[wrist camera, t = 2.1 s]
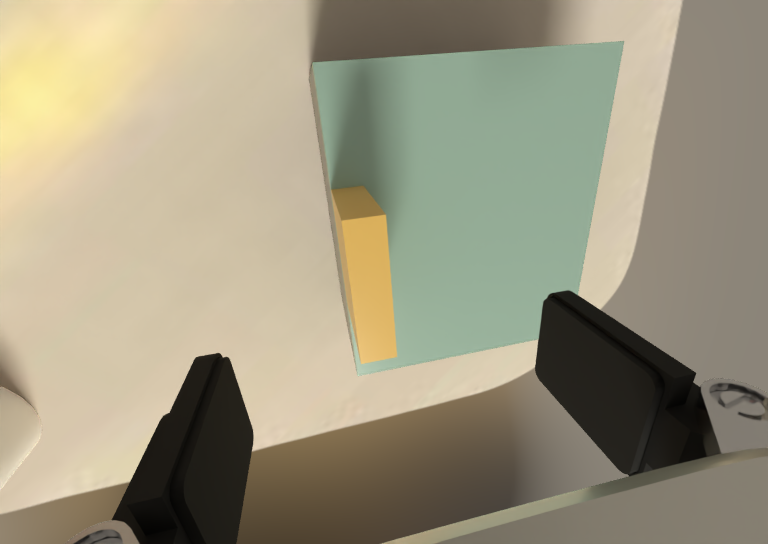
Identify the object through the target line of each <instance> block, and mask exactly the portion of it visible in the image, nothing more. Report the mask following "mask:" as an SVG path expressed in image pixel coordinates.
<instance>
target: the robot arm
mask: <svg viewBox="0 0 768 544" xmlns="http://www.w3.org/2000/svg"><path fill="white" fill-rule="evenodd" d="M535 371H536V375H537V377H538V379H539V380H540V381H541V382H542V383H543V385H544V386H545V387H546V388H547V389H548V390H549V391H550V393H551V394H552V395H553V396H554V397H555V398H556V399H557V401H558V402H559V403H560V404H561V405H562V406H563V407H564V408H565V410H567V412H568V413H569V414H570V415H571V416H572V418H573V419H574V420H575V421H576V422H577V423H578V424H579V425H580V426H581V428H582V429H583V430H584V431H585V432H586V433H587V434H588V436H589V437H590V438H591V439H592V440H593V441H594V442H595V444H596V445H597V446H598V447H599V448H600V449H601V450H602V451H603V452H604V454H605V455H606V456H607V457H608V458H609V459H610V461H611V462H612V463H613V464H614V465H615V466H616V467H617V468H618V469H619V470H620V471H621V472H622V473H624V474H628V475H629V477H626V478H622V479H618V480H614V481H610V482H607V483H603V484H599V485H595V486H591V487H588V488H584V489H580V490H576V491H573V492H569V493H565V494H561V495H557V496H554V497H550V498H546V499H543V500H539V501H535V502H532V503H528V504H524V505H521V506H517V507H513V508H509V509H506V510H502V511H498V512H495V513H491V514H487V515H484V516H480V517H476V518H473V519H469V520H465V521H462V522H458V523H454V524H451V525H447V526H443V527H440V528H436V529H432V530H429V531H425V532H422V533H418V534H415V535H411V536H407V537H404V538H400V539H396V540H393V541H389V542H386V543H382V544H768V393H767V392H765V391H763V390H761V389H759V388H756V387H754V386H752V385H749V384H747V383H743V382H739V381H735V380H730V379H723V378H720V379H719V378H718V379H709V380H707V381H704V382H703V384H702V385H701V387H699V386H697V385H696V384H695V383H693V381H694V378H695V375H696V373H695V372H694V371H692V370H691V369H689V368H688V367H686V366H685V365H683V364H682V363H680V362H679V361H677V360H676V359H674V358H673V357H671V356H669V355H668V354H666V353H665V352H663V351H662V350H660V349H659V348H657V347H656V346H654V345H653V344H651V343H650V342H648V341H646V340H645V339H643V338H642V337H641V336H639V335H638V334H636V333H634V332H633V331H631V330H630V329H628V328H627V327H625V326H624V325H622V324H621V323H619V322H618V321H616V320H615V319H613V318H612V317H610V316H609V315H607V314H606V313H604V312H603V311H601V310H599V309H598V308H596V307H595V306H593V305H592V304H590V303H589V302H587V301H586V300H584V299H583V298H581V297H580V296H578V295H577V294H575V293H574V292H572V291H570V290H566V291H560V292H555V293H551V294H549V295H548V297H547V299H545V300H544V301H543V306H542V315H541V323H540V332H539V340H538V348H537V357H536V365H535ZM252 447H253V429H252V425H251V422H250V419H249V416H248V413H247V410H246V407H245V404H244V401H243V398H242V395H241V392H240V389H239V386H238V383H237V380H236V377H235V374H234V370H233V367H232V364H231V361H230V359H229V358H228V357H224V358H223V357H222V355H221V354H220V353H216V354H210V355H205V356H199V357H196V358H195V360H194V361H193V364H192V366H191V368H190V370H189V372H188V374H187V376H186V379H185V381H184V383H183V385H182V387H181V389H180V391H179V394H178V396H177V398H176V400H175V402H174V404H173V406H172V409H171V411H170V413H168V414H166V415H164V416H163V417H162V419H161V420H160V422H159V424H158V426H157V428H156V430H155V432H154V434H153V436H152V438H151V440H150V442H149V444H148V447H147V449H146V451H145V453H144V455H143V457H142V459H141V461H140V463H139V465H138V467H137V469H136V471H135V473H134V475H133V477H132V479H131V481H130V484H129V486H128V488H127V490H126V492H125V494H124V496H123V498H122V500H121V502H120V504H119V506H118V508H117V510H116V513H115V514H114V516H113V519H112V521H106V522H101V523H99V524H96V525H94V526H92V527H89V528H87V529H85V530H83V531H82V532H80V533H79V534H77V535H76V536H74V537H72V538H71V539H70V540H69V541H67V542H66V543H65V544H236V542H237V536H238V530H239V524H240V518H241V512H242V506H243V500H244V494H245V488H246V482H247V476H248V470H249V464H250V458H251V452H252Z"/></svg>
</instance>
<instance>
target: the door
mask: <svg viewBox="0 0 768 544" xmlns="http://www.w3.org/2000/svg"><path fill="white" fill-rule="evenodd" d="M623 45H624V41H618V42H603V43H589V44H574V45H559V46H545V47H530V48H516V49H501V50H486V51H472V52H457V53H442V54H428V55H413V56H399V57H384V58H369V59H355V60H340V61H325V62H313V63H312V69H313V76H314V82H315V89H316V96H317V103H318V110H319V117H320V124H321V131H322V138H323V145H324V152H325V158H326V165H327V172H328V179H329V186H330V193H331V200H332V207H333V214H334V221H335V227H336V234H337V241H338V248H339V255H340V262H341V269H342V276H343V283H344V290H345V296H346V303H347V310H348V317H349V324H350V331H351V338H352V345H353V352H354V359H355V365H356V370H357V375H358V376H361V375H366V374H371V373H376V372H381V371H386V370H391V369H395V368H400V367H405V366H410V365H415V364H420V363H425V362H430V361H435V360H439V359H444V358H449V357H454V356H459V355H464V354H469V353H474V352H479V351H483V350H488V349H493V348H498V347H503V346H508V345H513V344H518V343H522V342H527V341H532V340H537V339H539V332H540V323H541V315H542V306H543V301H544V300H545V299H547V297H548V295H549V294H551V293H555V292H560V291H566V290H570V291H572V292H574V293H575V294H577V295H578V291H579V286H580V280H581V275H582V269H583V264H584V258H585V253H586V247H587V242H588V236H589V231H590V226H591V220H592V215H593V209H594V204H595V198H596V193H597V187H598V182H599V176H600V171H601V165H602V160H603V154H604V149H605V144H606V138H607V133H608V127H609V122H610V116H611V111H612V105H613V100H614V94H615V89H616V83H617V78H618V73H619V67H620V62H621V56H622V51H623Z"/></svg>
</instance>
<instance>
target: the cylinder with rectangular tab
mask: <svg viewBox="0 0 768 544" xmlns="http://www.w3.org/2000/svg"><path fill="white" fill-rule="evenodd" d="M41 433H42V426H41V420H40V418H39V416H38V414H37V413H36V411H35V410H34V408H33V407H32V406H31V405H30V404H29V403H28V402H27V401H25V400H24V399H23V398H22V397H21V396H19V395H17V394H15V393H14V392H12V391H10V390H8V389H6V388H4V387H1V386H0V490H1V489H2V487H3V486H4V485H5V484H6V482H7V481H8V480H9V479H10V477H11V476H12V475H13V473H14V472H15V471H16V470H17V468H18V467H19V466H20V465H21V463H22V462H23V461H24V460H25V458H26V457H27V456H28V455H29V453H30V452H31V451H32V450H33V448H34V447H35V446H36V444H37V443H38V442H39V440H40V437H41Z"/></svg>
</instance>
